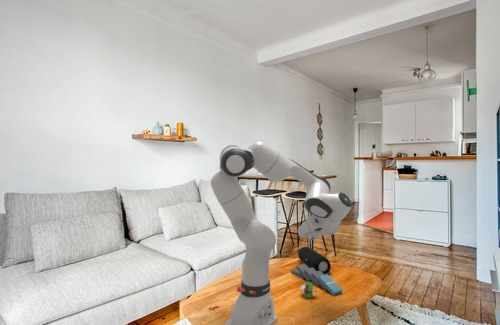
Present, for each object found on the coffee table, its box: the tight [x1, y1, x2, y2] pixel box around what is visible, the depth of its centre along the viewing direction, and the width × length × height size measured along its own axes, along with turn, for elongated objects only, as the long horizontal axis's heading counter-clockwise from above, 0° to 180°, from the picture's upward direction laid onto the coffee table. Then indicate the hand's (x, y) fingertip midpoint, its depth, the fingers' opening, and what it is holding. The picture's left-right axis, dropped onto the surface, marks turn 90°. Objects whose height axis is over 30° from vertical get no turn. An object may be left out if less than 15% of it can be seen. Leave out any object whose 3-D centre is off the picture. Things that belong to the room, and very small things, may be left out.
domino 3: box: [304, 267, 321, 288], centre depth 149 cm, size 2×6×11 cm
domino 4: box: [311, 271, 328, 292], centre depth 144 cm, size 2×6×11 cm
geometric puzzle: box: [299, 280, 318, 299], centre depth 133 cm, size 7×7×8 cm
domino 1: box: [290, 268, 306, 281], centre depth 158 cm, size 2×6×11 cm
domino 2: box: [295, 263, 313, 283], centre depth 154 cm, size 2×6×11 cm
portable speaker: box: [297, 246, 332, 275], centre depth 169 cm, size 26×10×10 cm, turn 15°
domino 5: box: [318, 273, 343, 297], centre depth 139 cm, size 2×6×11 cm
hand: (310, 238), depth 133 cm, fingers closed
